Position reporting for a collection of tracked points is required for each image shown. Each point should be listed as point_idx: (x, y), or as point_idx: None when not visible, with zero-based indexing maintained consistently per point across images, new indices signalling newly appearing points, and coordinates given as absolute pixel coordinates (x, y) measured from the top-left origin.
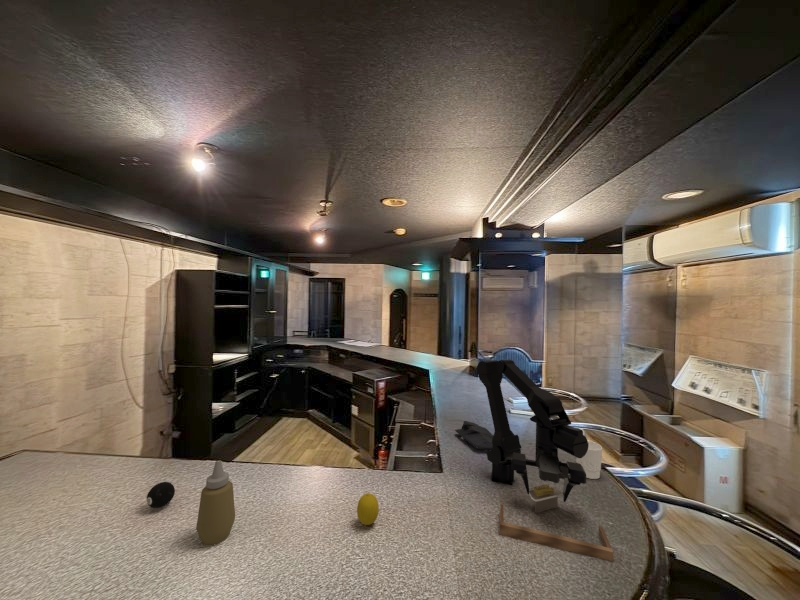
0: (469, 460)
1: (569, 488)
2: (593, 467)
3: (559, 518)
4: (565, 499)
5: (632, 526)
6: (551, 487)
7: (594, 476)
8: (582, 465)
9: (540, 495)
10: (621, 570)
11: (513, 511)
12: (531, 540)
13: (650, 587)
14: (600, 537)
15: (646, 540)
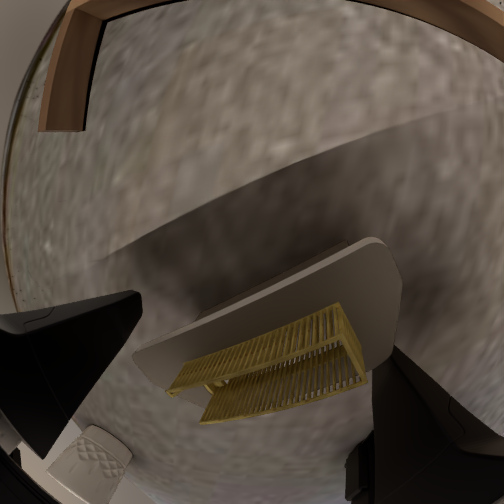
0: None
1: (27, 316)
2: (81, 446)
3: (207, 226)
4: (119, 295)
5: (19, 243)
6: (183, 389)
7: (92, 430)
8: (105, 461)
9: (308, 317)
10: None
11: (461, 238)
12: None
13: (65, 4)
14: (72, 101)
15: (8, 188)
